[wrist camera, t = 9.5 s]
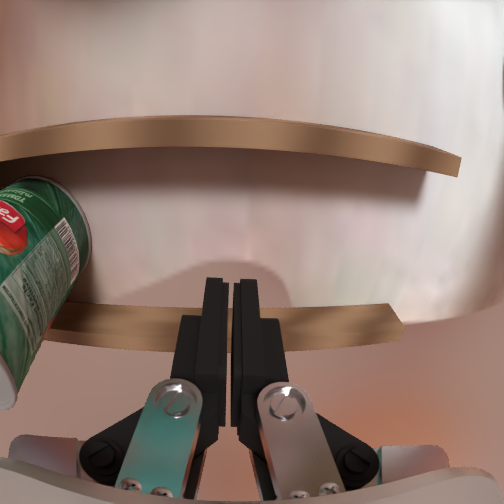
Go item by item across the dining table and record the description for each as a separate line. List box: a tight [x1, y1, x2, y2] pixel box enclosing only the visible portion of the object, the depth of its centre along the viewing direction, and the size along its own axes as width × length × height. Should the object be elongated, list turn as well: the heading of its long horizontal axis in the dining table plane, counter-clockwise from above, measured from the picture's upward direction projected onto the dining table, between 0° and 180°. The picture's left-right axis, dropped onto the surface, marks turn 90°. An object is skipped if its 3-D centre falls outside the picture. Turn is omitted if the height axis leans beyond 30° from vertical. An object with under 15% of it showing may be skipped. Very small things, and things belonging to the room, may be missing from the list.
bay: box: [0, 115, 461, 353], centre depth 15 cm, size 30×13×6 cm, turn 86°
